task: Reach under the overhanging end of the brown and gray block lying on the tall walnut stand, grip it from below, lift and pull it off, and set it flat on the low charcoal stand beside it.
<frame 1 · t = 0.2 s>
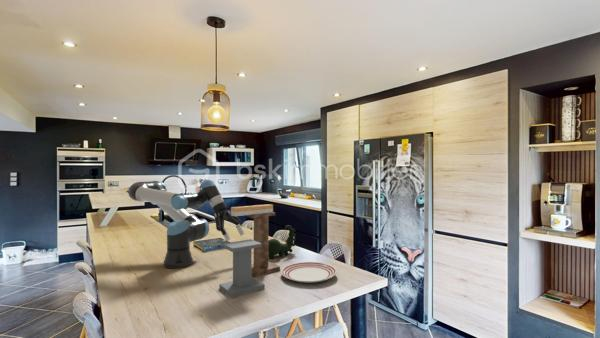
hand: (236, 237, 172), 15 cm above the table, tool tilted 35°, fingers open, 13 cm apart
brown and gray block: (252, 213, 158), point 30 cm above the table, touching tall stand
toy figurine: (279, 256, 188), on the table
tall stand: (260, 270, 161), on the table
dinner plate: (308, 276, 153), on the table
low stand: (242, 288, 136), on the table
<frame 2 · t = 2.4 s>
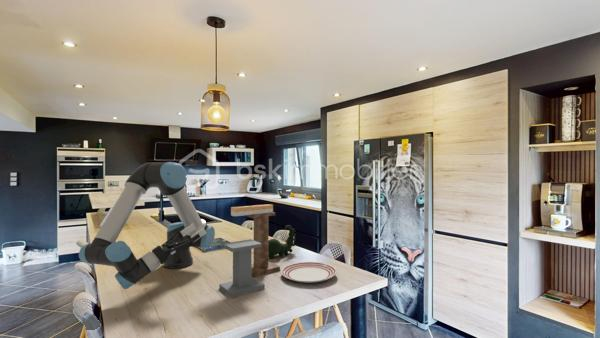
hand: (199, 228, 141), 26 cm above the table, tool pointing upward, fingers open, 13 cm apart
nothing on the table moved.
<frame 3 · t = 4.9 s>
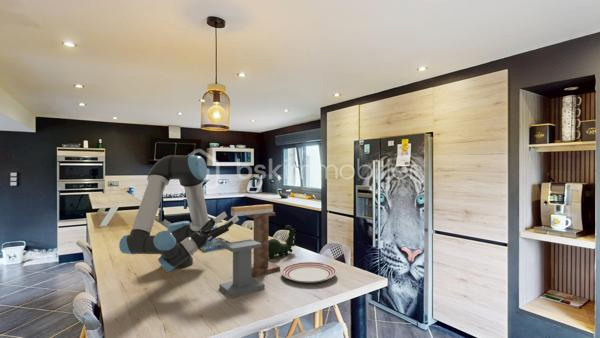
hand: (231, 215, 150), 30 cm above the table, tool pointing upward, fingers open, 13 cm apart
nothing on the table moved.
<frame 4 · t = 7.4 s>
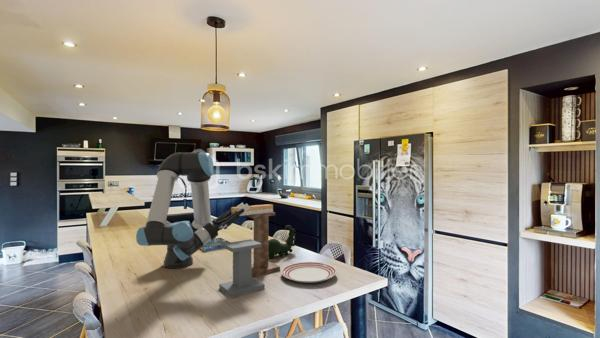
hand: (245, 205, 155), 35 cm above the table, tool pointing upward, fingers closed on brown and gray block, 4 cm apart
brown and gray block: (252, 213, 158), point 30 cm above the table, touching gripper, tall stand
everything else where it was.
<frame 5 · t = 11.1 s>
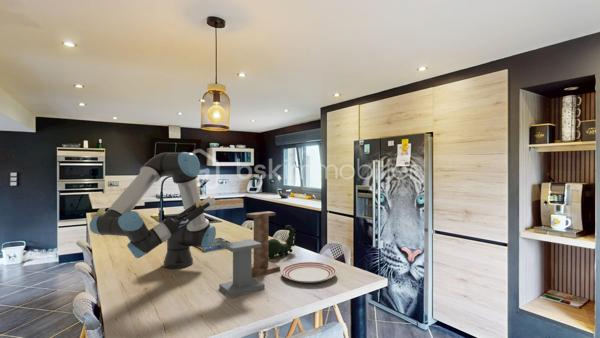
hand: (212, 199, 144), 39 cm above the table, tool pointing upward, fingers closed on brown and gray block, 4 cm apart
brown and gray block: (220, 208, 146), point 34 cm above the table, touching gripper
everything else where it was.
when the fingers open (27 cm above the table, at t = 15.0 s): brown and gray block drops 2 cm, resting on low stand.
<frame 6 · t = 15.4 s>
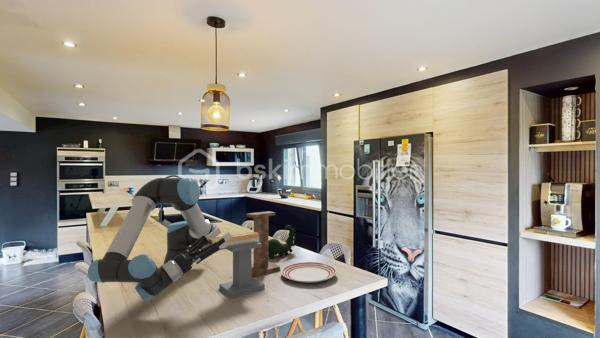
hand: (224, 232, 131), 26 cm above the table, tool pointing upward, fingers open, 10 cm apart
brown and gray block: (234, 244, 134), point 20 cm above the table, touching low stand
everything else where it was.
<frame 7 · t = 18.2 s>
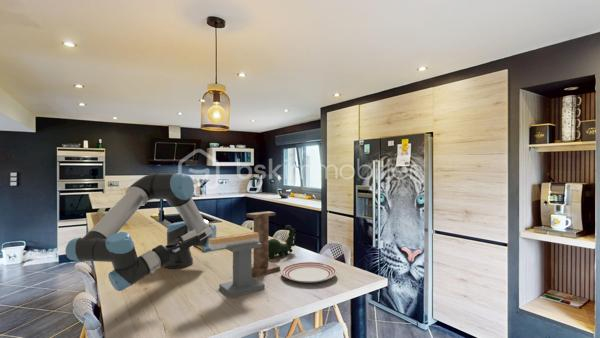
hand: (203, 231, 130), 27 cm above the table, tool pointing upward, fingers open, 13 cm apart
nothing on the table moved.
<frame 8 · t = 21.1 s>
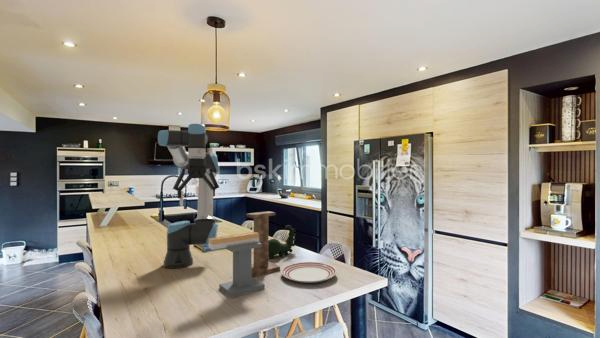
hand: (196, 204, 140), 37 cm above the table, tool pointing down, fingers open, 13 cm apart
nothing on the table moved.
at the end: brown and gray block inside the target area on the low stand (1.4 cm from its centre), point 20.0 cm above the low stand's base; the gripper is holding nothing; brown and gray block tilted 0° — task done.
